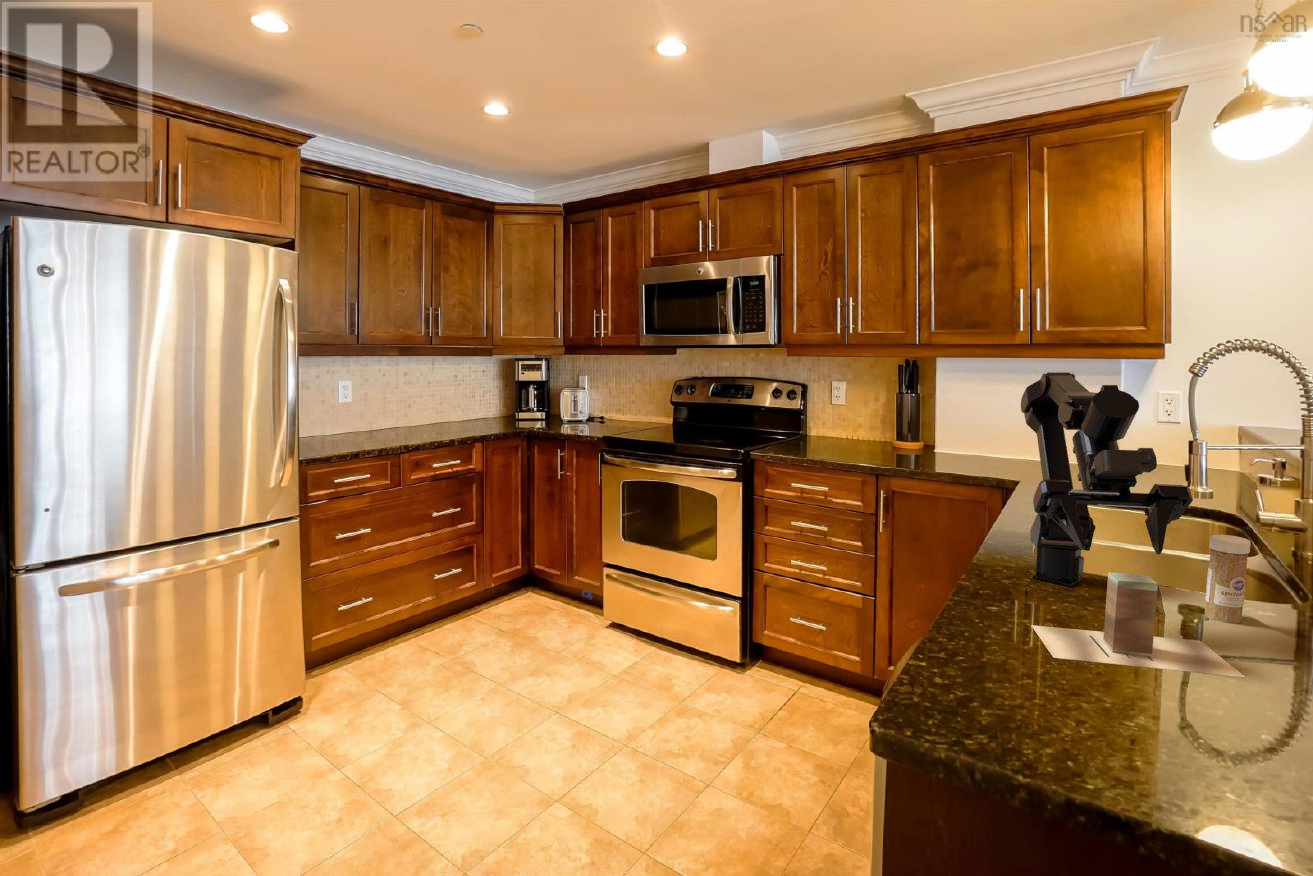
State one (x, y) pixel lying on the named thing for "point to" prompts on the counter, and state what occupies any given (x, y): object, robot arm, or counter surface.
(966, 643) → the counter surface
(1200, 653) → the birch board
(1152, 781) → the counter surface
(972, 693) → the counter surface
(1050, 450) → the robot arm
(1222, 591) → the sprinkles bottle
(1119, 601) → the block
